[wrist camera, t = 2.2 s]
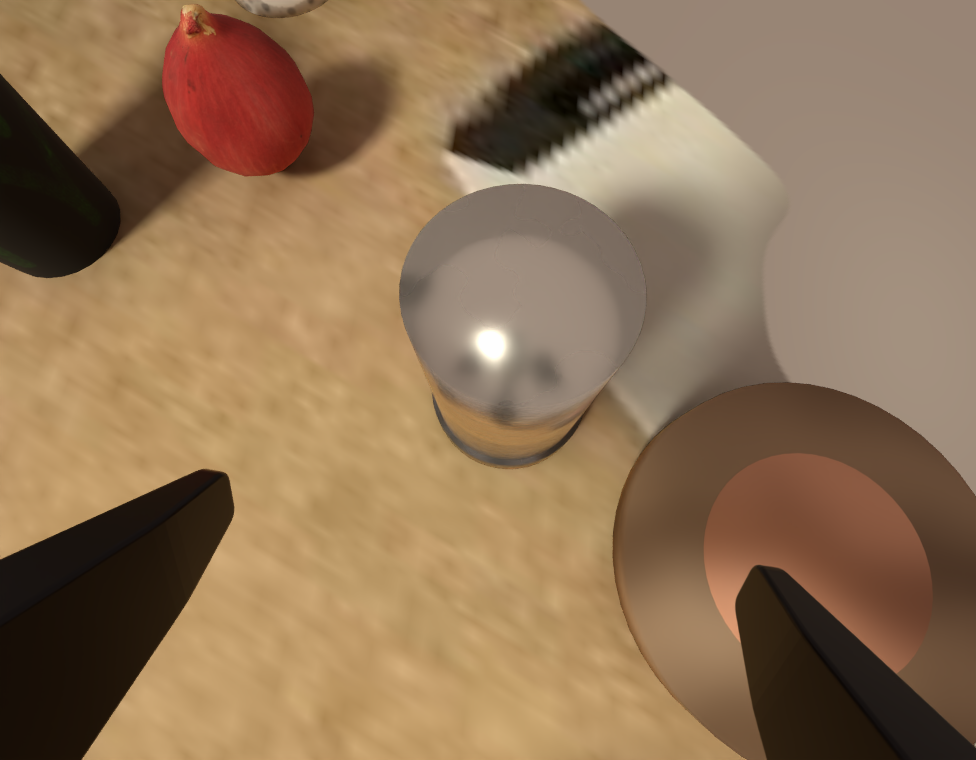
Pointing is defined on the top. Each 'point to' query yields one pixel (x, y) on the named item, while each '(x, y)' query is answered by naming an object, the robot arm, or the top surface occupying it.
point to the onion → (235, 94)
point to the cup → (47, 197)
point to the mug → (280, 7)
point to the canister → (519, 317)
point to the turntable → (797, 545)
